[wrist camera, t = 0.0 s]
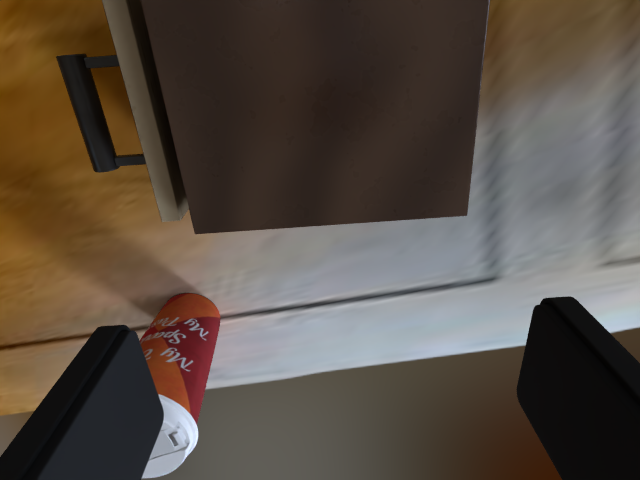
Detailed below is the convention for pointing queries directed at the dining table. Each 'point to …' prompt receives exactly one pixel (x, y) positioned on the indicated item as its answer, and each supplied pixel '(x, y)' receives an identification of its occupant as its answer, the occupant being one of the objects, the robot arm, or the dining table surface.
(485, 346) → the dining table surface
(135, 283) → the dining table surface
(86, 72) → the drawer
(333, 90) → the cabinet
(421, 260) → the dining table surface
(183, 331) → the paper cup
